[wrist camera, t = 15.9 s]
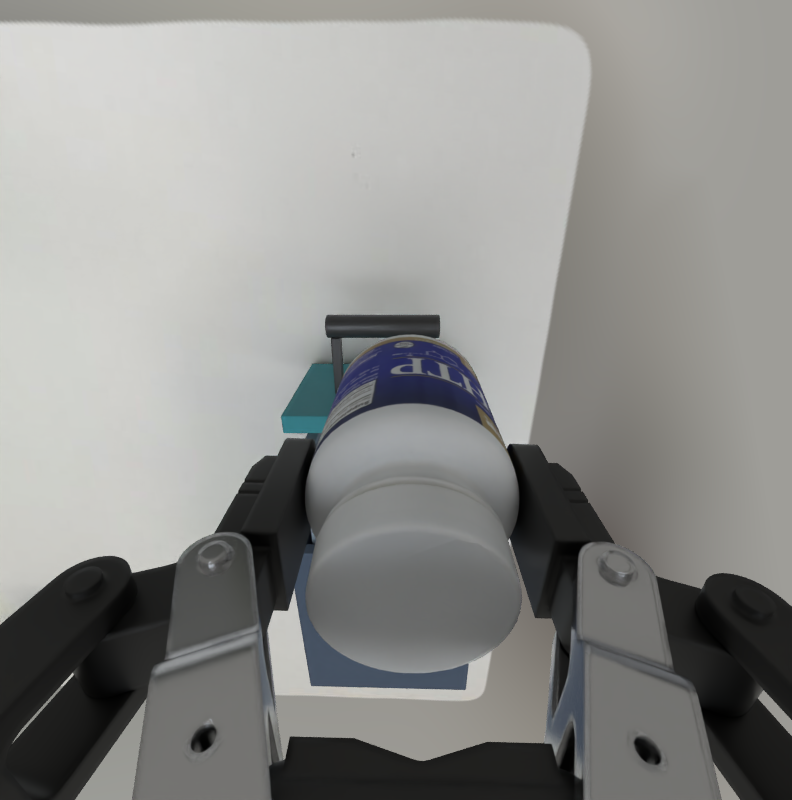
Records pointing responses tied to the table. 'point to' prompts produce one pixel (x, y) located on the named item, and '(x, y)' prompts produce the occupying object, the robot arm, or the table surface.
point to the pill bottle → (412, 513)
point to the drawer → (344, 367)
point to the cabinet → (345, 672)
